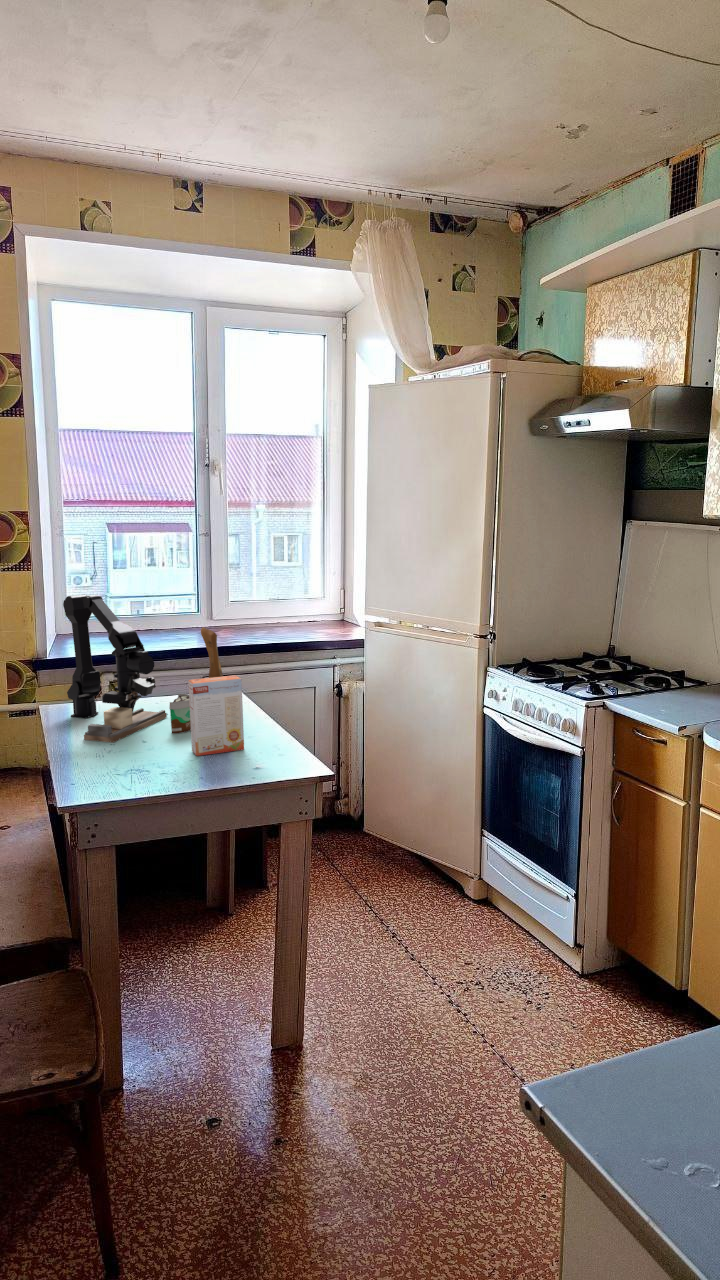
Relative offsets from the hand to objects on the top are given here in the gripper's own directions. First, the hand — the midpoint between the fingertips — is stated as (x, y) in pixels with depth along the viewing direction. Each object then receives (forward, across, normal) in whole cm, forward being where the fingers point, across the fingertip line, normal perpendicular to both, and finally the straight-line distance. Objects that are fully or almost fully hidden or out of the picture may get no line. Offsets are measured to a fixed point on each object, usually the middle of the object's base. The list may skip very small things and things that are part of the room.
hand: (128, 719), depth 268 cm
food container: (+3, +3, -18) cm, 18 cm away
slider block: (+1, -6, 0) cm, 6 cm away
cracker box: (+3, -14, -38) cm, 41 cm away
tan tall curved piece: (+3, +26, -17) cm, 31 cm away
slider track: (+2, -1, 0) cm, 3 cm away
